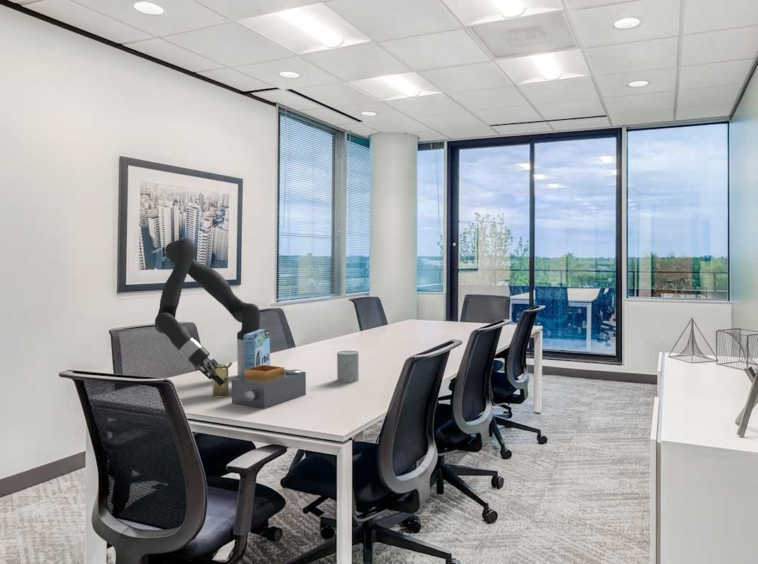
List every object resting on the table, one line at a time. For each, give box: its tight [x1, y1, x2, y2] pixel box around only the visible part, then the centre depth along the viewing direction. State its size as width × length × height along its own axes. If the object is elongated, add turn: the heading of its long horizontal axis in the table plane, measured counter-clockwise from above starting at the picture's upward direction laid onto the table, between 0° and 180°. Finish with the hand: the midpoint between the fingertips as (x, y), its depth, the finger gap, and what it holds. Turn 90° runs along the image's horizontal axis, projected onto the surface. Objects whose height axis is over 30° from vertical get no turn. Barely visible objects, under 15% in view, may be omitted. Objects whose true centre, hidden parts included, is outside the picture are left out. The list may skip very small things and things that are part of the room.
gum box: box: [244, 328, 271, 376], centre depth 237 cm, size 20×5×23 cm, turn 172°
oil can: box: [212, 362, 233, 397], centre depth 222 cm, size 8×6×13 cm
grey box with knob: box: [231, 364, 307, 410], centre depth 215 cm, size 27×16×12 cm, turn 150°
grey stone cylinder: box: [336, 350, 360, 384], centre depth 248 cm, size 10×10×12 cm
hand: (224, 381), depth 222 cm, fingers open, 6 cm apart
